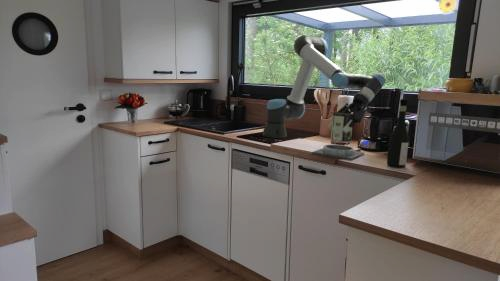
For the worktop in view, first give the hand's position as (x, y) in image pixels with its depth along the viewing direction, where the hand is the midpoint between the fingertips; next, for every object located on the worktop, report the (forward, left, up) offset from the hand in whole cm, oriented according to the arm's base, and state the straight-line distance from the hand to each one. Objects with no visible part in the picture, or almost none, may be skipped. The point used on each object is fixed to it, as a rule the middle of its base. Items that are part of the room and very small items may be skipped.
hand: (337, 129), depth 180 cm
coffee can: (-3, +1, -6) cm, 7 cm away
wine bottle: (+3, +30, -13) cm, 33 cm away
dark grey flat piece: (-3, +1, -13) cm, 13 cm away
